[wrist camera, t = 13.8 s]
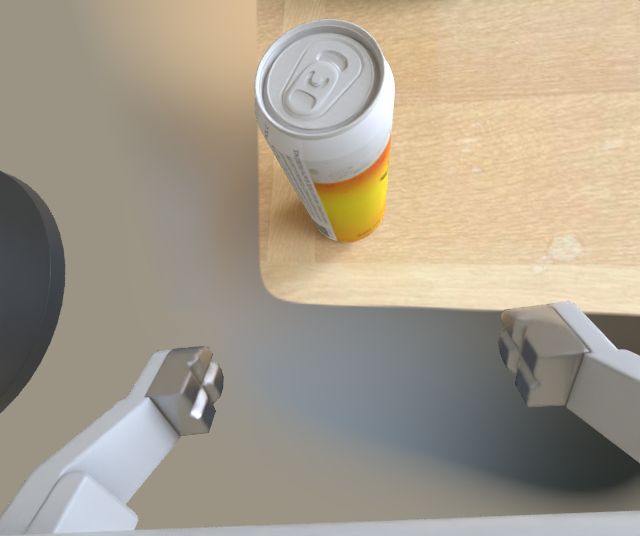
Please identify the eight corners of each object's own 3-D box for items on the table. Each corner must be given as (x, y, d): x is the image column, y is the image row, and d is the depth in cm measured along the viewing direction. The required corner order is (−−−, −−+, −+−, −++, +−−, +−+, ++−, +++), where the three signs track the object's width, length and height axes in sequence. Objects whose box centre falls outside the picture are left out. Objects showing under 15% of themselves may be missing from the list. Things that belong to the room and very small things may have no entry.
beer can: (399, 197, 27) (427, 44, 13) (357, 258, 27) (336, 173, 12) (338, 163, 29) (301, -11, 14) (298, 220, 28) (216, 103, 14)
